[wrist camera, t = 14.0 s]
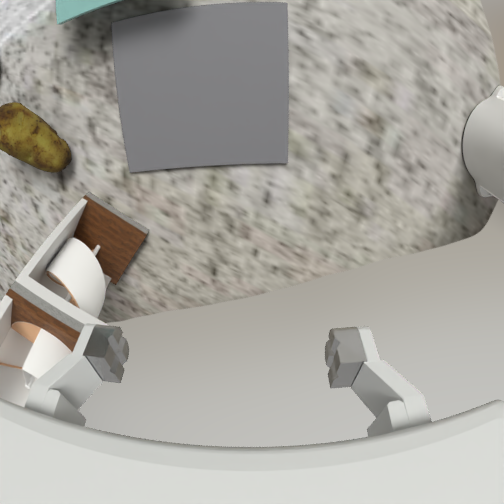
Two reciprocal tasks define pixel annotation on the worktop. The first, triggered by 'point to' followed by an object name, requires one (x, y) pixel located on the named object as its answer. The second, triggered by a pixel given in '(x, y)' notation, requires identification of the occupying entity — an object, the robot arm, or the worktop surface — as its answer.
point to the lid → (78, 8)
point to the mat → (204, 85)
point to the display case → (62, 292)
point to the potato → (31, 139)
